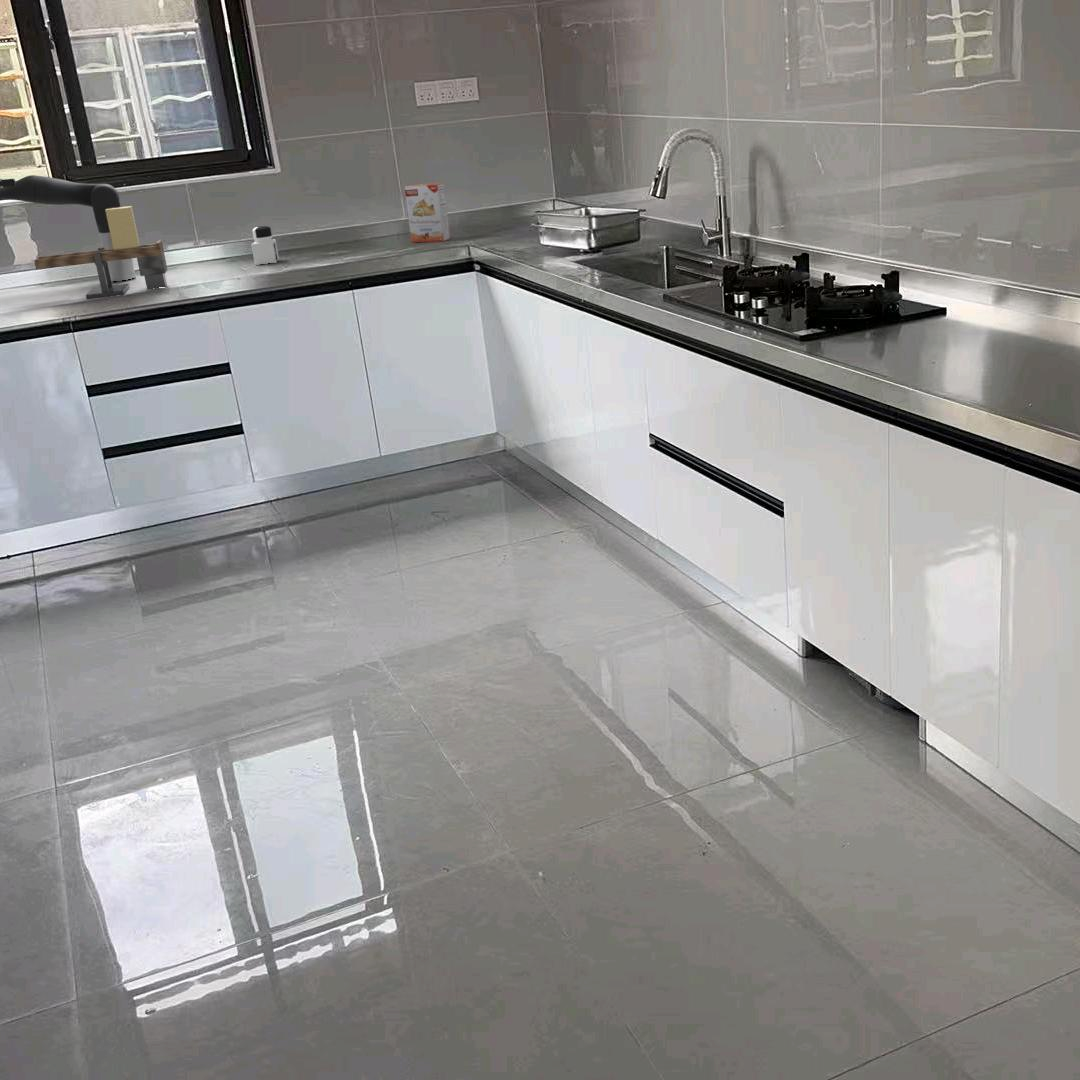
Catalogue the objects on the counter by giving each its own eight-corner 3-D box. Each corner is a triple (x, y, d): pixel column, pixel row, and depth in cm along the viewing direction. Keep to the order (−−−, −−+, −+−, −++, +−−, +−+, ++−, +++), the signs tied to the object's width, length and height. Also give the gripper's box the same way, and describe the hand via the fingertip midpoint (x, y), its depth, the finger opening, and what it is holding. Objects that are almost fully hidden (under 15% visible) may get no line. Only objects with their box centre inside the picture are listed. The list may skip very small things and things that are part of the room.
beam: (167, 269, 412) (161, 239, 409) (165, 273, 404) (159, 242, 400) (45, 283, 406) (38, 253, 402) (40, 287, 398) (33, 257, 394)
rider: (140, 248, 407) (131, 205, 402) (139, 250, 402) (130, 207, 397) (116, 251, 406) (107, 208, 400) (114, 253, 401) (105, 210, 396)
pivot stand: (168, 283, 417) (159, 240, 412) (164, 290, 402) (155, 245, 397) (93, 292, 413) (83, 249, 408) (86, 299, 399) (76, 255, 393)
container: (279, 260, 447) (273, 224, 442) (275, 263, 440) (269, 226, 435) (258, 262, 447) (252, 226, 442) (254, 265, 440) (248, 229, 435)
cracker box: (410, 243, 458) (403, 186, 451) (418, 240, 464) (411, 184, 456) (443, 241, 453) (436, 184, 445) (451, 239, 458) (444, 182, 450)
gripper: (-34, 197, 396) (21, 192, 399) (-44, 200, 384) (13, 195, 387) (-40, 173, 394) (16, 168, 396) (-50, 176, 382) (8, 171, 384)
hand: (15, 182), depth 392 cm, fingers closed
